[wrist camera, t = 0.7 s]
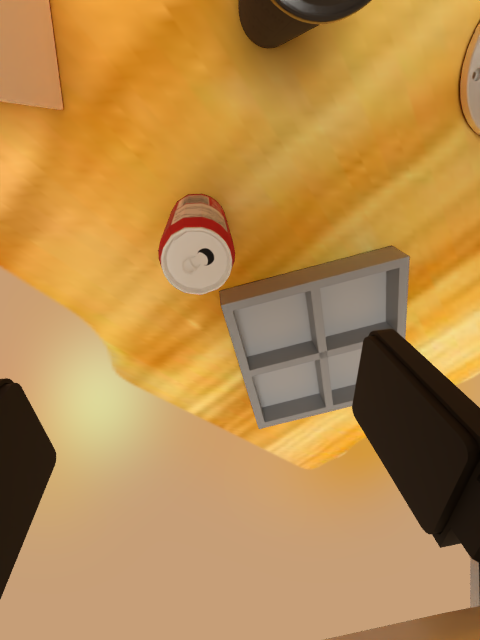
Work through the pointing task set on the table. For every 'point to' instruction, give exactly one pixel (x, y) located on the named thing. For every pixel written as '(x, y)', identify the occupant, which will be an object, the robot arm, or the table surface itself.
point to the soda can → (197, 245)
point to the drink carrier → (313, 331)
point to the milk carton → (28, 55)
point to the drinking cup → (290, 17)
